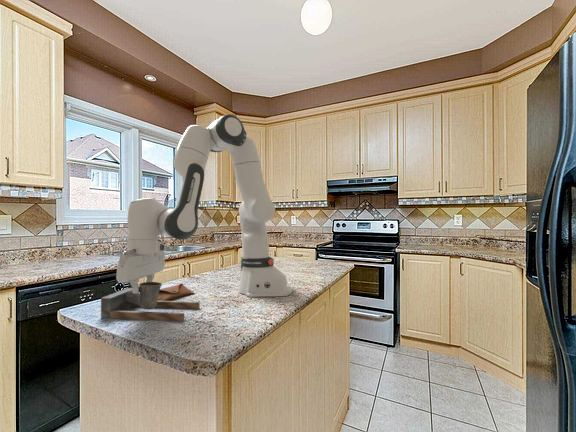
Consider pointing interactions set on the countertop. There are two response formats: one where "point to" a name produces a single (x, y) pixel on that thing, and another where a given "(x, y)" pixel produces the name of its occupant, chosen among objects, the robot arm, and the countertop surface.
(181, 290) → the sunglasses case
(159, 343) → the countertop surface
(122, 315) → the channel
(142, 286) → the pipe
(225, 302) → the countertop surface
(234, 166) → the robot arm
